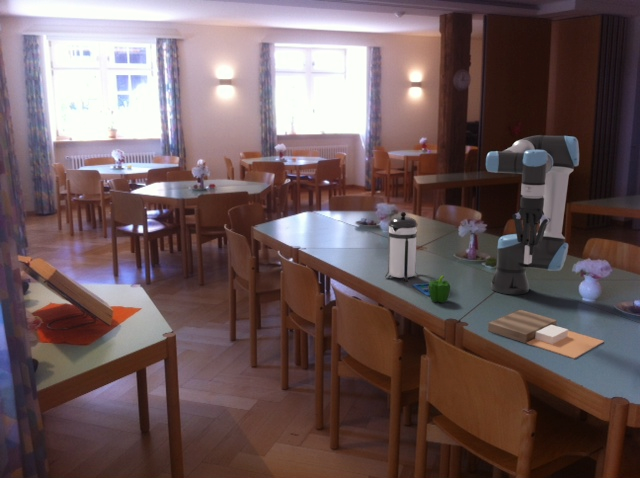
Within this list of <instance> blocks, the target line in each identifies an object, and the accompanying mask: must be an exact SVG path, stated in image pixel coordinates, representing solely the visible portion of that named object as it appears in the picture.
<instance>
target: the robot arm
mask: <svg viewBox="0 0 640 478" xmlns="http://www.w3.org/2000/svg"><path fill="white" fill-rule="evenodd" d="M579 163H580V149H579V140H578V139H577V137H575V136H568V135H542V134H539V135H532V136H528V137H524V138H522V139H519V140H516V141H515V142H514V143H513V144H512V146H510V147H507V149H504V150H502V151H498V150H496V151H489V152H488V153H487V155H486V158H485V169H486V171H487V172H488V173H489V172H490V173H496V174H497V173H500V174H501V173H503V174H517V175H519V174H520V175H521V189H520V190H521V191H520V195H521V197H520V201H519V202H520V205H519V207H520V209H519V210H518V212H517V213H514V214H512V215H511V216H512V219H513V221H514V227H515V232H516V233H513V234H506V235H505V234H504V235H502V236H500V237H499V238H498V241H497V247H496V248H497V253H496V254H497V255H496V270H495V272H494V275H493V277H492V280H491V282H490V289H491V290H492V291H494V292H496V293H500V294H503V295H504V294H505V295H514V296H515V295H524V294H527V293H529V289H530V285H529V280H528V277H527V274H526V272H527V271H526V269H527V268H529V269H536V270H543V271H544V270H545V271H547V272H548V271H553V272H559V271H561V270H562V269H563V267H564V264H565V263H566V262H565V261H566V260H567V255H568V251H569V250H568V249H569V243H567V242H565V241H566V237H565V236H564V235H563V234H562V232H563V225H564V215H565V210H566V201H567V193H568V185H569V176H570V174H571V173H572V172H574V169H575V167H578V166H579ZM538 226H539V227H538Z"/></svg>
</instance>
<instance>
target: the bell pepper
mask: <svg viewBox="0 0 640 478" xmlns="http://www.w3.org/2000/svg"><path fill="white" fill-rule="evenodd" d="M444 278H445V276H444V275H441V276H440V277H439V279H437V280H430V282H428V283H429V293H430V296H429V297H430V300H431V301H432V302H435V303H446V302H447V301H448V300H449V297H450V292H451V285H450V283H449V282H448V280H443V279H444Z"/></svg>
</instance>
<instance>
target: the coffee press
mask: <svg viewBox="0 0 640 478" xmlns="http://www.w3.org/2000/svg"><path fill="white" fill-rule="evenodd" d="M406 215H407V213H406V212H405V211H402V212H401V213H400V216H396V217H392V218H391V219H390V220H389V222H388V223H387V225H388V234H387V235H388V241H387V244H388V246H387V247H388V248H387V250H388V251H387V273H386V274H385V276H384V278H385V279H387V280H388V279H390V278H391V277H394V278H398V279H399V278H400V279H403V283H408V282H409V279H408V278H411V277H415V278H418V277H419V274H418V273H417V269H416V267H417V265H416V264H417V240H418V239H417V237H418V231H417V229H418V223H417V222H418V221H416V219H415V218H414V217H410V216H406ZM415 274H416V275H415ZM387 276H388V277H387Z"/></svg>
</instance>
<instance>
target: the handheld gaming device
mask: <svg viewBox="0 0 640 478" xmlns="http://www.w3.org/2000/svg"><path fill="white" fill-rule="evenodd" d="M429 283H430V282H427V283H416V284H412V287H413V288H415V289H417V290H418V291H419V292H420V293H422V294H423V295H425V296H427V297H430V293H429Z"/></svg>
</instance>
